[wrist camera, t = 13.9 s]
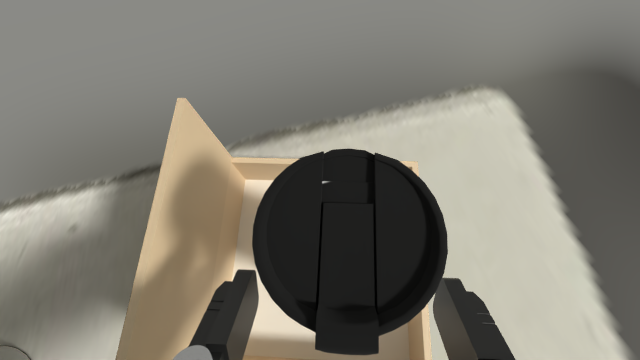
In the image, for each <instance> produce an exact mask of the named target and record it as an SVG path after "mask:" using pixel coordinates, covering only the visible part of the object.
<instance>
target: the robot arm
mask: <svg viewBox="0 0 640 360" xmlns="http://www.w3.org/2000/svg"><path fill="white" fill-rule="evenodd" d="M258 302H259V293H258V285H257V276H256V271H255V270H244V269H238V270H237V272H236V274H235V276H234V279H233V281H224V282H223V283H222V284H221V285H220V286H219V287H218V288H217V289H216V290H215V293H214V295H213V297H212V299H211V302H210V303H209V305H208V307H207V310H206V311H205V313H204V315H203V317H202V319H201V322H200V324H199V326H198V328H197V330H196V332H195V334H194V336H193V338H192V340H191V342H190V344H189V346H188V347H187V348H185V349H183V350H182V351H180V352H179V353H178V354H177V355H176V356H175V357H174V358H173V360H243V356H244V353H245V349H246V346H247V343H248V339H249V336H250V333H251V329H252V326H253V322H254V319H255V316H256V312H257V308H258ZM433 313H434V318H435V321H436V324H437V327H438V330H439V332H440V335H441V338H442V341H443V344H444V347H445V350H446V353H447V356H448V358H449V360H515V358H514V356H513V354H512V353H511V351H510V349H509V347H508V345H507V344H506V342H505V340H504V338H503V336H502V334H501V333H500V331H499V329H498V327H497V325H495V322H494V320H493V318H492V316H490V313H489V311H488V309H487V307H486V306H485V304H484V302H483V301H482V300H481V299H480V298H479V297H478V296H477V295H476V294H475V293H474V292H466V290H465V288H464V286H463V284H462V282H461V280H460V279H458V278H442V279H441V281H440V284H439V286H438V288H437V291H436V294H435V298H434V302H433ZM0 360H30V359H29V358H28V357H27V355H26V354H24V353H23V352H21V351H20V350H18V349H16V348H13V347H10V346H0Z"/></svg>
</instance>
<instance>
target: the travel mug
mask: <svg viewBox="0 0 640 360" xmlns="http://www.w3.org/2000/svg"><path fill="white" fill-rule="evenodd" d="M252 248H253V255H254V262H255V266H256V268H257V271H258V274H259V277H260V280H261V282H262V284H263V286H264V287H265V289H266V290H267V292H268V294H269V295H270V297H271V299H272V300H273V301H274V302H275V303H276V304H277V305H278V306H279V308H280V309H281V310H282V311H283V312H284V313H285V314H286V315H287V316H289V317H290V318H291V319H293V320H294V321H296V322H297V323H299V324H300V325H302V326H304V327H306V328H308V329H310V330H311V331H313V332H315V333H316V335H315V350H319V351H322V352H326V353H333V354H343V355H372V354H378V353H379V336H381V335H383V334H386V333H389V332H391V331H394V330H395V329H397V328H399V327H401V326H403V325H405V324H406V323H408V322H409V321H411V320H412V319H413V318H414V317H415V316H416V315H417V314H418V313H420V312H421V311H422V310H423V309H424V308H425V307H426V305H427V304H428V302H429V301H430V299H431V298H432V297H433V295H434V294H435V292H436V291H437V288H438V286H439V284H440V281H441V279H442V276H443V274H444V270H445V265H446V259H447V254H448V249H447V231H446V227H445V222H444V218H443V214H442V212H441V210H440V208H439V205H438V203H437V201H436V199H435V197H434V196H433V194H432V193H431V191H430V190H429V188H428V187H427V185H426V184H425V183H424V182H423V181H422V180H421V179H420V178H419V177H418V176H417V175H416V174H415V173H414V172H413V171H412V170H411V169H410V168H408V167H407V166H405V165H404V164H403V163H401V162H400V161H398V160H396V159H393V158H390V157H387V156H384V155H381V154H378V153H375V155H373V154H371V153H369V152H367V151H365V150H356V149H337V150H331V151H329V152H327V153H324V151H323V152H320V153H316V154H313V155H309V156H306V157H302V158H300V159H299V160H297V161H296V162H294V163H292V164H291V165H289V166H288V167H287V168H286V169H285V170H283V171H282V172H281V173H280V174H279V175H278V176H277V177H276V178H275V179H274V181H273V182H272V183H271V185H270V186H269V188H268V189H267V190H266V192H265V193H264V196H263V198H262V200H261V202H260V204H259V206H258V208H257V212H256V216H255V220H254V224H253V235H252Z"/></svg>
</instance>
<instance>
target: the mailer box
mask: <svg viewBox="0 0 640 360" xmlns="http://www.w3.org/2000/svg"><path fill="white" fill-rule="evenodd" d="M297 160H299V159H283V158H240V157H231V155H230V154H229V153H228V152H227V150H226V149H225V148H224V146H223V145H222V144H221V143H220V141H219V140H218V139H217V138H216V136H215V135H214V134H213V133H212V131H211V130H210V129H209V128H208V126H207V125H206V124H205V122H204V121H203V120H202V119H201V117H200V116H199V115H198V113H197V112H196V111H195V110H194V108H193V107H192V106H191V105H190V103H189V102H188V101H187V100H186V99H185V98H177V103H176V107H175V111H174V115H173V119H172V124H171V128H170V132H169V136H168V141H167V145H166V149H165V153H164V157H163V162H162V166H161V170H160V174H159V178H158V183H157V187H156V191H155V195H154V199H153V204H152V208H151V212H150V216H149V221H148V225H147V229H146V233H145V237H144V242H143V246H142V250H141V254H140V258H139V263H138V267H137V271H136V275H135V280H134V284H133V288H132V292H131V296H130V301H129V305H128V309H127V313H126V317H125V322H124V326H123V330H122V334H121V338H120V343H119V347H118V351H117V355H116V360H173V358H174V357H175V356H176V355H177V354H178V353H179V352H180V351H182V350H183V349H185V348H187V347H188V346H189V344H190V342H191V340H192V338H193V336H194V334H195V332H196V330H197V328H198V326H199V324H200V322H201V319H202V317H203V315H204V313H205V311H206V310H207V307H208V305H209V303H210V302H211V299H212V297H213V295H214V293H215V290H216V289H217V288H218V287H219V286H220V285H221V284H222V283H223V282H224V281H233V279H234V276H235V274H236V272H237V270H238V269H244V270H255V271H256V276H257V285H258V293H259V302H258V308H257V312H256V316H255V319H254V322H253V326H252V329H251V333H250V336H249V339H248V343H247V346H246V349H245V353H244V356H243V360H432V353H431V339H430V325H429V312H428V304H427V305H426V307H425V308H424V309H423V310H422V311H421V312H420V313H418V314H417V315H416V316H415V317H414V318H413V319H412V320H411V321H409V322H408V323H406V324H405V325H403V326H401V327H399V328H397V329H395V330H394V331H391V332H389V333H386V334H383V335H381V336H379V353H378V354H372V355H343V354H333V353H326V352H322V351H319V350H315V335H316V333H315V332H313V331H311V330H310V329H308V328H306V327H304V326H302V325H300V324H299V323H297V322H296V321H294V320H293V319H291V318H290V317H289V316H287V315H286V314H285V313H284V312H283V311H282V310H281V309H280V308H279V306H278V305H277V304H276V303H275V302H274V301H273V300H272V299H271V297H270V295H269V294H268V292H267V290H266V289H265V287H264V286H263V284H262V282H261V280H260V277H259V274H258V271H257V268H256V266H255V262H254V255H253V248H252V235H253V224H254V220H255V216H256V212H257V208H258V206H259V204H260V202H261V200H262V198H263V196H264V193H265V192H266V190H267V189H268V188H269V186H270V185H271V183H272V182H273V181H274V179H275V178H276V177H277V176H278V175H279V174H280V173H281V172H282V171H283V170H285V169H286V168H287V167H288V166H289V165H291V164H292V163H294V162H296V161H297ZM400 162H401V163H403V164H404V165H405V166H407V167H408V168H410V169H411V170H412V171H413V172H414V173H415V174H416V175H417V176H418V177H419V174H418V162H415V161H400Z"/></svg>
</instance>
